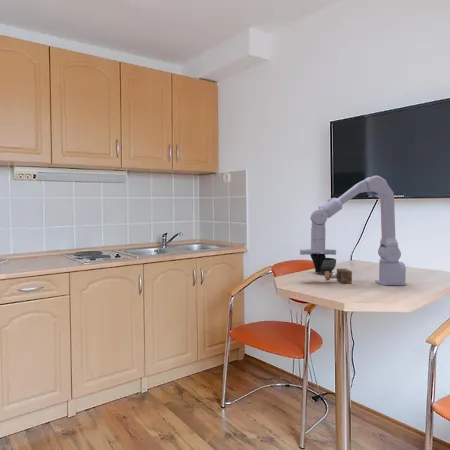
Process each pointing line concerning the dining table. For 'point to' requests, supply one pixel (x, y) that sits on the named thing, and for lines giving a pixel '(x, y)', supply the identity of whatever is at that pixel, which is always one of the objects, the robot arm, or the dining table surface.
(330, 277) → the pin
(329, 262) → the mortar and pestle
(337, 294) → the dining table surface
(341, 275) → the block
